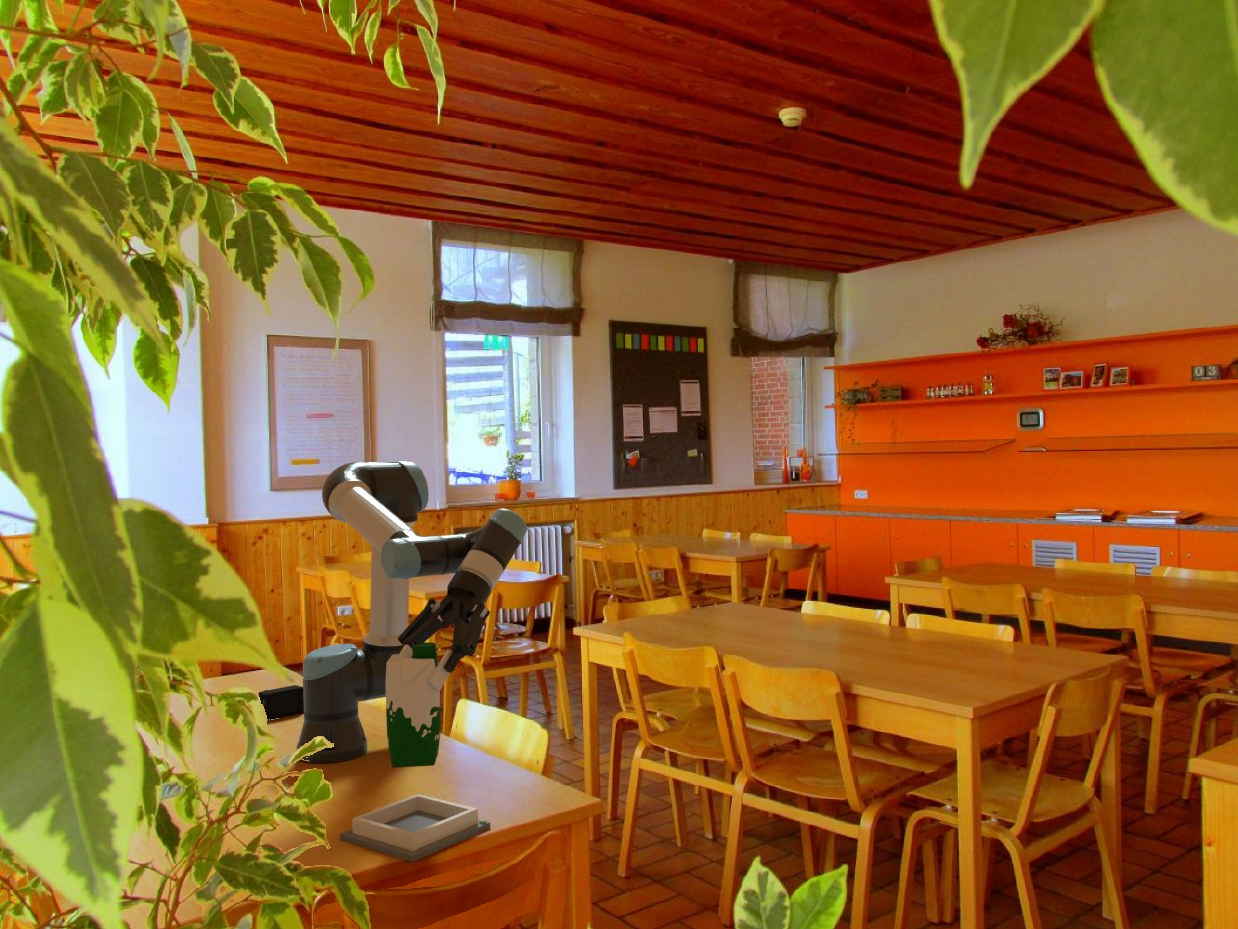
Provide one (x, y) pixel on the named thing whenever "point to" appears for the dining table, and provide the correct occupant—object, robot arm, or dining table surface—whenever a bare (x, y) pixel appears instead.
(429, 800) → the dock
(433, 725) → the soya milk
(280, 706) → the digital camera
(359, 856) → the dining table surface
